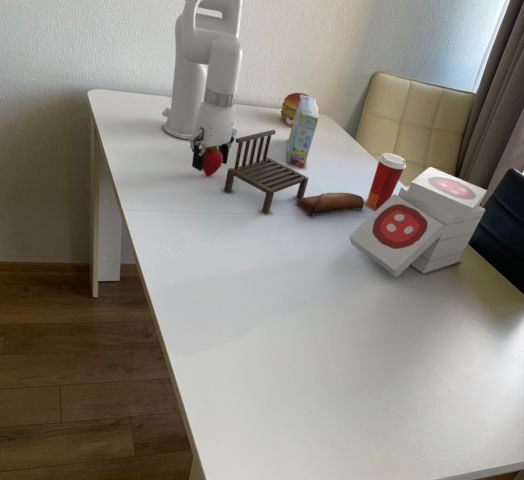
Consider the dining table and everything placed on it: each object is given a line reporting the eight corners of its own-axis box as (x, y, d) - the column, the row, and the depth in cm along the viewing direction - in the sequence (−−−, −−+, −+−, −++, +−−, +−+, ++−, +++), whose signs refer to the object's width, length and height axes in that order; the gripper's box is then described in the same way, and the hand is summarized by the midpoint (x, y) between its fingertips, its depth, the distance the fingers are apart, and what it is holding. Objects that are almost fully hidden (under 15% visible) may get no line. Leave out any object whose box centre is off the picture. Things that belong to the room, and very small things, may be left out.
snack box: (305, 168, 162) (319, 118, 152) (287, 164, 161) (300, 113, 152) (303, 144, 178) (316, 96, 168) (287, 140, 177) (298, 92, 168)
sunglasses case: (343, 195, 151) (357, 181, 146) (353, 217, 150) (367, 204, 145) (293, 200, 142) (306, 186, 136) (303, 224, 141) (317, 210, 135)
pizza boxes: (338, 246, 129) (363, 175, 117) (414, 228, 146) (442, 165, 134) (396, 290, 119) (429, 217, 107) (470, 265, 136) (505, 200, 125)
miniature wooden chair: (224, 190, 138) (233, 138, 130) (263, 177, 150) (273, 128, 141) (266, 214, 134) (278, 161, 125) (302, 198, 145) (316, 149, 136)
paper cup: (390, 205, 155) (409, 158, 146) (386, 215, 149) (405, 167, 140) (365, 196, 156) (382, 149, 147) (360, 205, 150) (377, 157, 141)
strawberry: (206, 183, 139) (212, 146, 133) (190, 171, 143) (195, 133, 137) (224, 181, 143) (231, 144, 136) (208, 169, 147) (214, 132, 140)
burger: (291, 114, 200) (298, 86, 193) (321, 128, 195) (329, 99, 189) (271, 119, 190) (277, 89, 184) (302, 133, 186) (309, 103, 179)
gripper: (230, 89, 137) (220, 154, 148) (183, 95, 125) (176, 165, 136) (253, 99, 135) (240, 165, 145) (207, 106, 123) (197, 177, 134)
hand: (209, 165), depth 141 cm, fingers open, 9 cm apart
